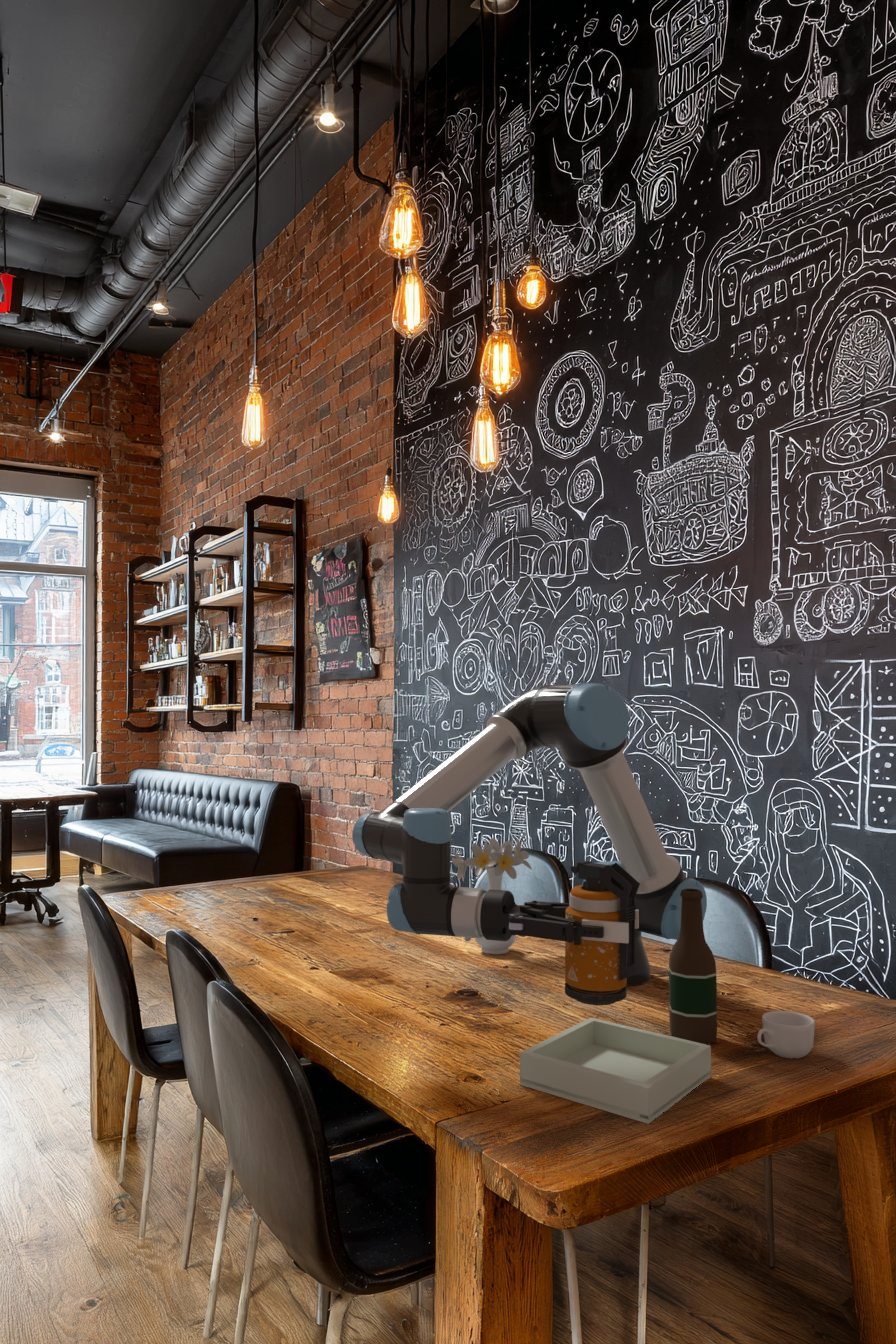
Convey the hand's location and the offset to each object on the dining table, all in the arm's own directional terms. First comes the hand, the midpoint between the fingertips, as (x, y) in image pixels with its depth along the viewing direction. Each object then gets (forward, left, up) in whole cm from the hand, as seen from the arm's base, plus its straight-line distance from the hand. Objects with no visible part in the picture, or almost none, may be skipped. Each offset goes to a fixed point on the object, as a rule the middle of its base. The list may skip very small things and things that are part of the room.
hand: (633, 925), depth 133 cm
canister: (+2, -4, -11) cm, 12 cm away
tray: (+1, -2, -22) cm, 22 cm away
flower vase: (-47, -59, -22) cm, 78 cm away
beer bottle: (-23, -1, -22) cm, 32 cm away
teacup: (-25, +13, -22) cm, 36 cm away
